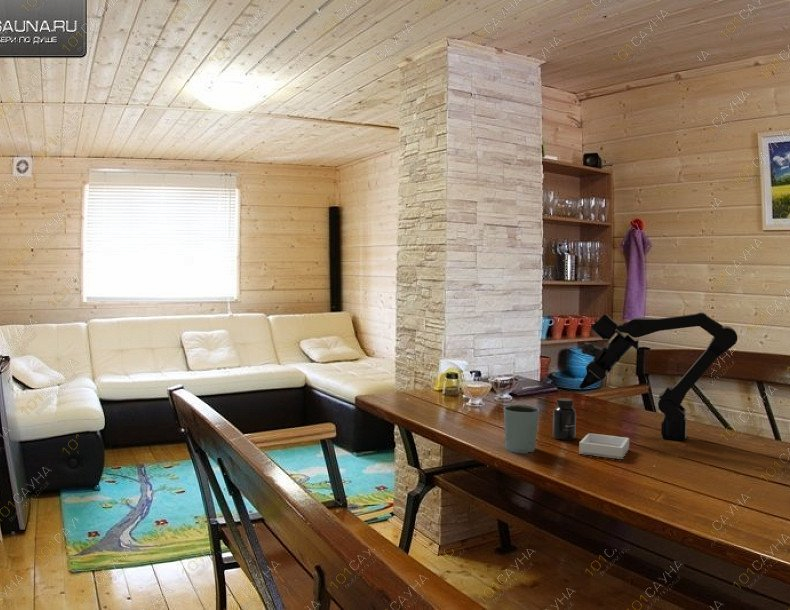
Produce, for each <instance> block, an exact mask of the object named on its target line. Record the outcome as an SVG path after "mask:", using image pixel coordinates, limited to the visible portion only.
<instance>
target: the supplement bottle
mask: <svg viewBox="0 0 790 610" xmlns="http://www.w3.org/2000/svg"><path fill="white" fill-rule="evenodd" d="M552 414H553V415H552V437H553V438H554V439H555V438H557V439H556V440H559V439H562V440H561V441H573V440H575V439H576V430H577V429H576V427H577V426H576V424H577V411H576V409H575V408H574V400H573V399H572V398H568V397H567V398H565V397H560V398H557V399H556V407H555V408H554V409H553V413H552ZM572 439H573V440H572Z"/></svg>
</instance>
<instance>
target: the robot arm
mask: <svg viewBox="0 0 790 610" xmlns="http://www.w3.org/2000/svg"><path fill="white" fill-rule="evenodd" d="M695 327H699V328H701V329H703V330H704V331H706V333H708V334H709V335H711V336H712V338H711V340H710V342H709V343H708V345H707V347H706V349H705V350H704V352H703V353H701V355H700V356H699V358H697V359H696V361H695V362H694V363H693V364H692V365H691V366H690V368H689V369H688V370H687V371H686V373H685V374H684V375H682V377H681V378H680V379H679V380H678V381H677V383H676V384H674V385H673V386H671V385H670V384H669V383H668V384H666V385H667V386H666V387H665V388H664V390H663V391H661V392H660V393H659V395H658V398H659V400H658V403H657V407H658V409H659V411H660V412H661V413H662V414H663V415H664V417H663V420H662V421H661V432H660V433H661V437H662V438H661V439H663V438H668V439H667V440H671V439H672V440H673V439H674V441H679V440H682V441H681V442H686V440H685V439H687V437H688V435H687V417H686V413H687V412H686V411H687V409H686V408H685V407H684V406H683V405H682V402H683V401H684V400H685V397H686V395H687V393H688V392H689V391H690V390H691V389H692V387H693V386H694V385H695V384H696V383H697V382H698V380H700V378H701V377H702V376H703V375H704V374H705V372H706V371H707V370H708V369H709V368H710V367H711V366H712V364H713V363H714V362H715V361H716V360H717V359H718V358H719V357H721V355H723V354H725V353H726V352H728V351H729V350H730V349H732V347H734V346H735V345H736V344H737V342H738V339H739V338H738V334H737V332H736V330H735V329H734V328H733V327H731V326H726V325H725V326H724V325H722V324H721V323H719V322H718V321H716V320H715V319H713V318H711V316H709V315H707V313H705V312H701V311H700V312H697V313H692V314H683V315H675V316H668V317H661V318H651V317H634V318H632V319H631V320H629V321H628V322H623V323H622V322H621V323H619V324H618V323H617V322H615V321H614V320H613V319H612V318H611V317H610V316H609V315H608V314H607V313H603V315H602V316H601V317H600V318H599V319H598V320H597V321H596V322H594V324H592V326H591V327H590V331H592V332H593V333H594V334H595V335H597V336H598V337H599V338H601V339H602V340H603V341H605V340H608V341H610V340H611V338H612V337H614V338H612V340H611V341H610V342H609V343H608V344H607V345H605V346H603V347H600V346H598V345H597V344H594V343H591V342H588V341H585V342H584V344H583V346H582V348H581V354H583V355H588V356H591V357H592V358H593V360H591V361H590V362H589V363H588V364H587V365H586V367H585V370H586V375H585V376H584V378H583V380H582V382H581V383H580V385H579V389H581V390H583V389H585V388H588V387H591V386H592V385H594V384H597V383H599V382H601V381H603V380H604V379H605V377H607V375H608V373H610V371H611V370H612V369H613V368H614V367H615V365H616V364H617V363H619V361H620V360H621V359H622V358H623V357H624V356H625V354H627V353H628V352H629V350H631V348H632V347H633V348H634V349H635V350H637V351H638V350H639V348H640V345H639V344H640V343H639V342H640V340H639V339H634V338H641V337H645V336H648V335H650V334H654V333H657V332H661V331H670V330H677V329H685V328H695ZM625 334H626V335H625Z"/></svg>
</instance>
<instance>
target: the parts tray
mask: <svg viewBox="0 0 790 610" xmlns="http://www.w3.org/2000/svg"><path fill="white" fill-rule="evenodd" d="M578 444H579V445H578V455H579V454H585V455H594V456H602V457H609V458H617V459H623V460H624V458H625V457H624V456H626V455H627V454H626V453H628V452H629V451H628V450H630V438H629V437H624V436H623V437H622V436H616V435H607V434H598V433H592V432H588V433H587V434H586V435H585V436H584V437H583V438H582V439H581V440H580V441H579V443H578ZM627 451H628V452H627ZM625 454H626V455H625ZM585 455H584V456H585ZM623 457H624V458H623Z"/></svg>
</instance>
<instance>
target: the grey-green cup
mask: <svg viewBox="0 0 790 610" xmlns="http://www.w3.org/2000/svg"><path fill="white" fill-rule="evenodd" d="M539 417H540V408H538V407H536V406H533V405H525V404H509V405H505V406H504V407H503V419H504V420H503V421H504V447H505V450H506V451H507V450H508V452H510V453H514V452H515V453H514V454H529V453H528V452H531V453H533V452H535V451H536V443H537V440H536V439H537V433H538V424H539ZM534 450H535V451H534ZM532 451H533V452H532Z"/></svg>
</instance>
